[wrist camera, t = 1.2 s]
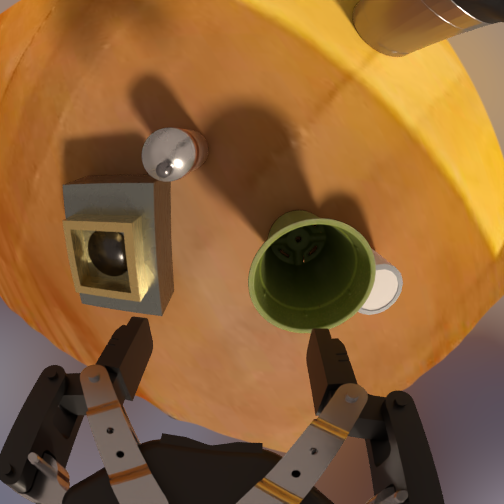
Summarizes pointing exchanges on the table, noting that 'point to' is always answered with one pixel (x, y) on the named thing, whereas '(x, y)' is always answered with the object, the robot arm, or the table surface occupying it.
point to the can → (173, 153)
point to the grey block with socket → (120, 241)
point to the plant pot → (311, 273)
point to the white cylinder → (383, 287)
